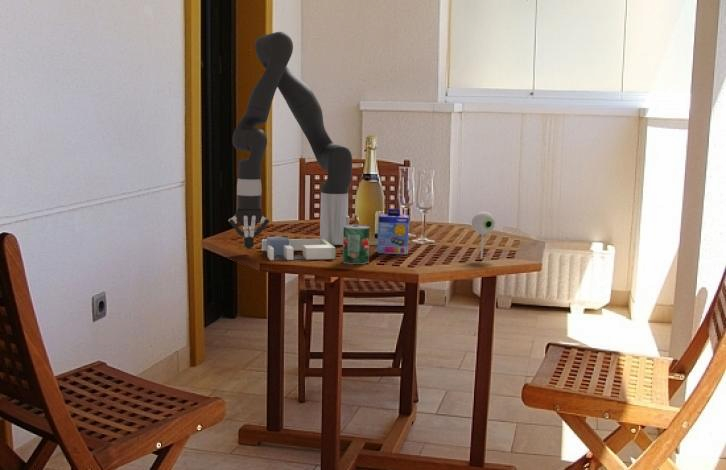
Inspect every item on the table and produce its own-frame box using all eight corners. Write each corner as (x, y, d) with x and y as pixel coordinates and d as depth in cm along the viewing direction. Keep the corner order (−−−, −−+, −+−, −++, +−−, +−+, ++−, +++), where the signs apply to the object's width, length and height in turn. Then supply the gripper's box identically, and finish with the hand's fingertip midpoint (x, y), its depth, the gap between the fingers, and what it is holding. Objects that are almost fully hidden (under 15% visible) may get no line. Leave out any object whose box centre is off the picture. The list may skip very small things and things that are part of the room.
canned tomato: (372, 264, 276) (373, 227, 274) (346, 265, 273) (347, 228, 272) (364, 259, 283) (365, 224, 281) (339, 260, 281) (340, 224, 279)
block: (285, 252, 293) (285, 236, 292) (288, 255, 287) (289, 239, 286) (266, 252, 291) (266, 237, 290) (269, 256, 286) (269, 240, 285)
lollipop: (477, 261, 285) (479, 213, 283) (465, 257, 291) (468, 210, 289) (497, 260, 288) (499, 212, 285) (485, 256, 294) (487, 209, 292)
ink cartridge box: (376, 253, 294) (378, 208, 292) (377, 250, 300) (378, 206, 297) (407, 254, 294) (409, 209, 291) (407, 251, 299) (409, 207, 297)
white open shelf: (323, 249, 299) (323, 238, 299) (335, 258, 283) (335, 247, 282) (261, 250, 294) (262, 239, 294) (270, 260, 278) (270, 248, 277)
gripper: (268, 192, 289) (267, 246, 292) (226, 192, 286) (225, 247, 289) (272, 194, 282) (271, 250, 285) (228, 194, 279) (228, 251, 281)
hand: (248, 248), depth 287 cm, fingers closed
